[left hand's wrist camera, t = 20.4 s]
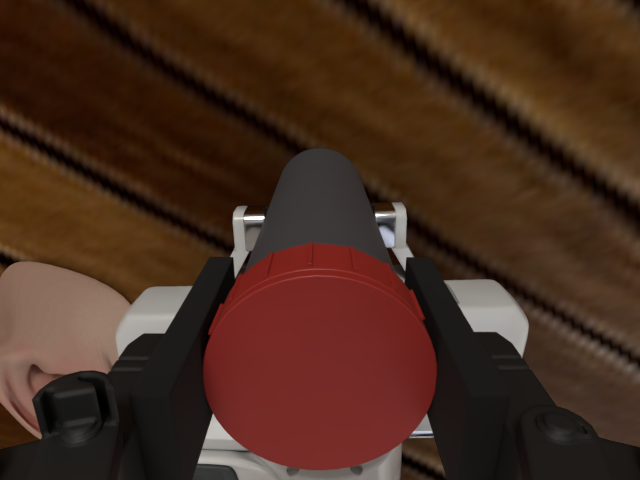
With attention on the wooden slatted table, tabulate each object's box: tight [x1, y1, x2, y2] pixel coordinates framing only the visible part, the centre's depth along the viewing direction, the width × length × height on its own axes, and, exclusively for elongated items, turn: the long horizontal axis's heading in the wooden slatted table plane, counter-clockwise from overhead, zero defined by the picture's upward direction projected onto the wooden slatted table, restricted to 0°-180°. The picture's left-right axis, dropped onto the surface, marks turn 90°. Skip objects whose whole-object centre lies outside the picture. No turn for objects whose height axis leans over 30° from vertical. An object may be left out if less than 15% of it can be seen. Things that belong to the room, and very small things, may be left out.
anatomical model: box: [0, 261, 131, 439], centre depth 30 cm, size 13×4×12 cm
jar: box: [244, 148, 396, 273], centre depth 20 cm, size 5×5×18 cm
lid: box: [203, 242, 437, 470], centre depth 12 cm, size 6×6×2 cm
